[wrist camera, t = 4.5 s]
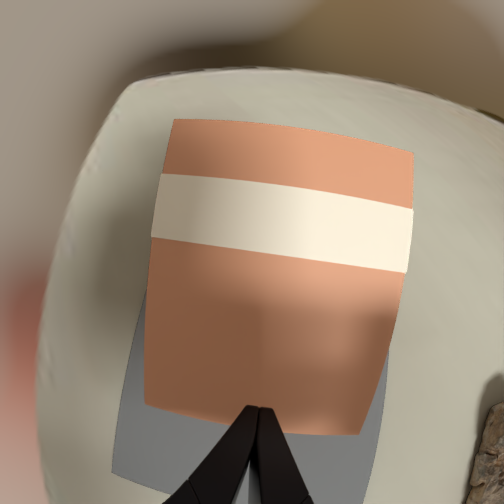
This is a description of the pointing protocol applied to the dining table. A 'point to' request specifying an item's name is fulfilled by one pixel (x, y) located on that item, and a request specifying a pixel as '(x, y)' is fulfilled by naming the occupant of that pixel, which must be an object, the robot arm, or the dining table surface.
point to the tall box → (275, 273)
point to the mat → (209, 433)
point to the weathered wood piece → (489, 462)
